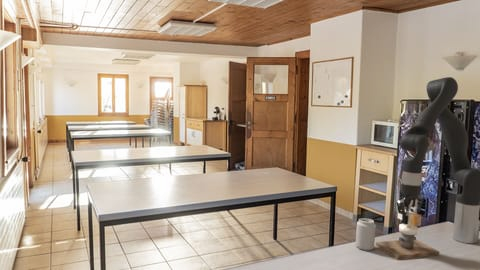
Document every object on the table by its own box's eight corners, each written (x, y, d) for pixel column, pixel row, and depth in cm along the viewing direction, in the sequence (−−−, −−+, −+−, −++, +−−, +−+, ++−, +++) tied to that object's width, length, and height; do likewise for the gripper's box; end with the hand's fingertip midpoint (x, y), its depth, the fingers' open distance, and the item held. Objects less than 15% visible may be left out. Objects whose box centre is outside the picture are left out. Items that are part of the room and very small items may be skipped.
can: (370, 244, 163) (371, 217, 162) (376, 251, 156) (378, 223, 155) (352, 244, 163) (354, 217, 162) (359, 251, 156) (360, 222, 154)
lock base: (414, 242, 167) (416, 225, 166) (439, 255, 154) (440, 237, 153) (375, 245, 162) (376, 228, 161) (397, 259, 148) (398, 240, 148)
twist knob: (392, 228, 161) (394, 209, 160) (407, 227, 163) (408, 208, 162) (409, 237, 151) (410, 216, 150) (423, 236, 153) (425, 215, 152)
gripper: (415, 179, 162) (412, 218, 163) (391, 182, 155) (388, 222, 157) (431, 183, 155) (427, 224, 157) (407, 186, 149) (404, 228, 150)
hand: (408, 223), depth 157 cm, fingers closed on twist knob, 3 cm apart
